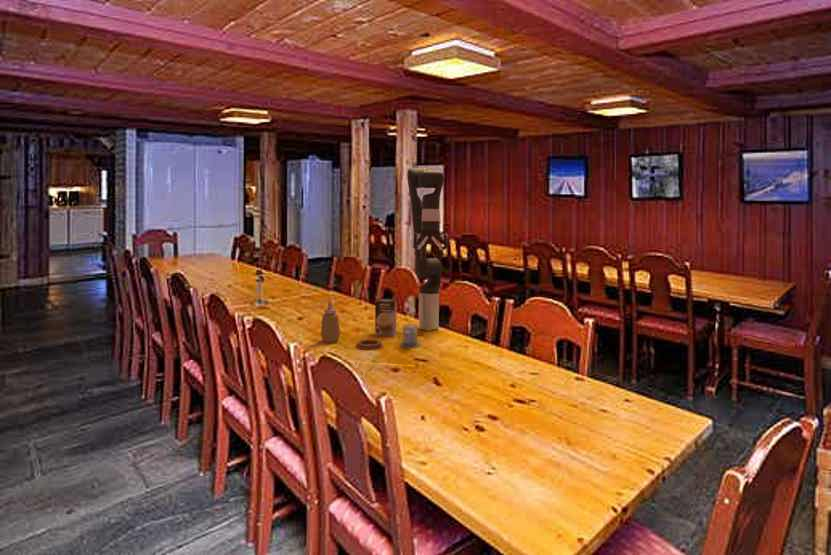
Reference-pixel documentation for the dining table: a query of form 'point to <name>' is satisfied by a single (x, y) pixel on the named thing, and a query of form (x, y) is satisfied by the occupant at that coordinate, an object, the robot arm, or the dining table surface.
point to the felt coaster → (410, 347)
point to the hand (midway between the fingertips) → (430, 258)
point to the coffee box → (385, 317)
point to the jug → (410, 335)
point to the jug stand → (369, 345)
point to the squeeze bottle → (330, 325)
